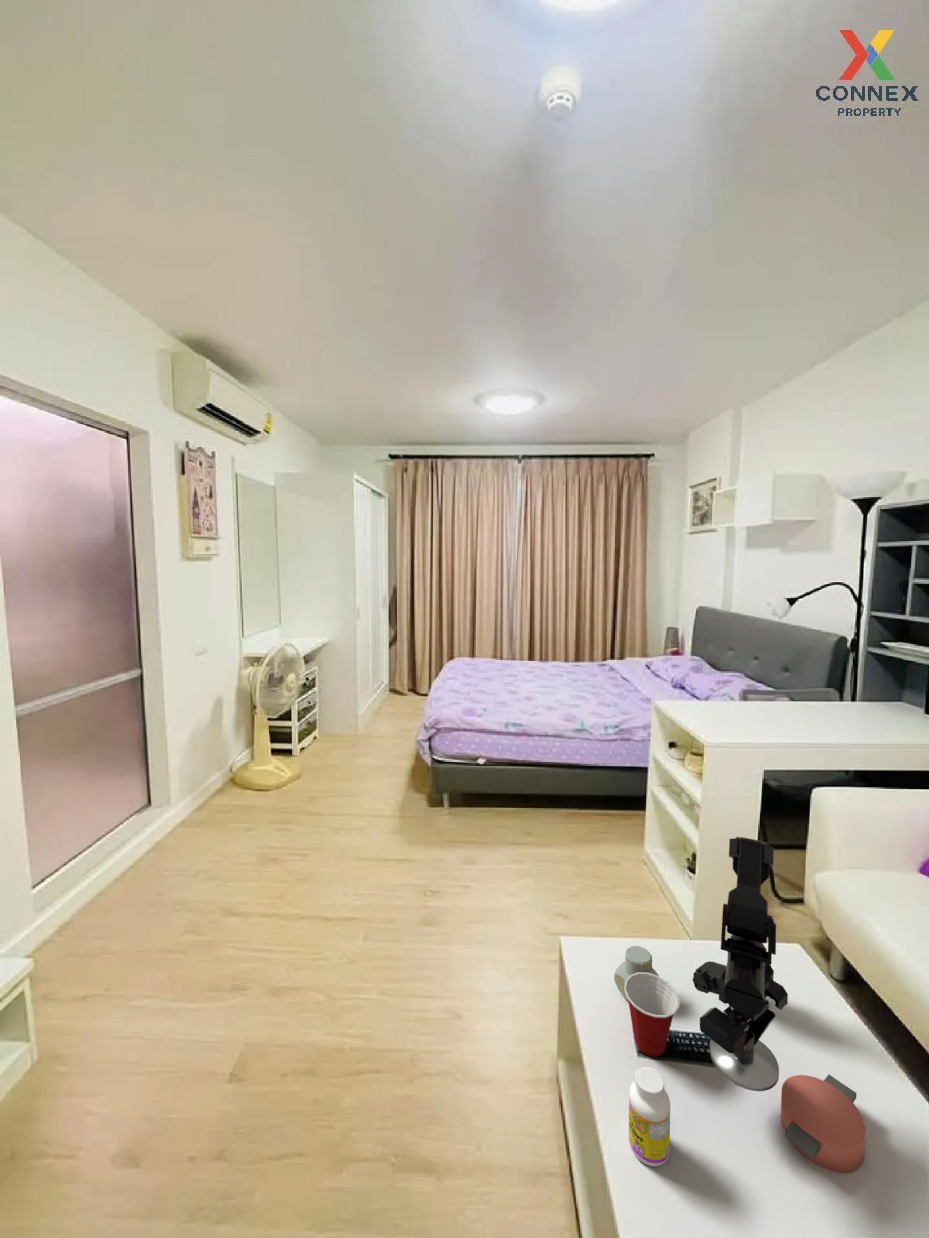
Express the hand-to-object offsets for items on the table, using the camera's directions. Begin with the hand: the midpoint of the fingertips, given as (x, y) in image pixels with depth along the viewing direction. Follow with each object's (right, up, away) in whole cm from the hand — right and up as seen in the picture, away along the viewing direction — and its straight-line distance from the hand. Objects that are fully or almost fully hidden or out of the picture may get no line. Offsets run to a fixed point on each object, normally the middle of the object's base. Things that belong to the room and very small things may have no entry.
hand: (743, 1052), depth 95 cm
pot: (+12, -12, -3) cm, 17 cm away
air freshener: (-10, -10, +28) cm, 32 cm away
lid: (0, -2, 0) cm, 2 cm away
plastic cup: (-11, -11, +15) cm, 22 cm away
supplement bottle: (-19, -13, -4) cm, 23 cm away
